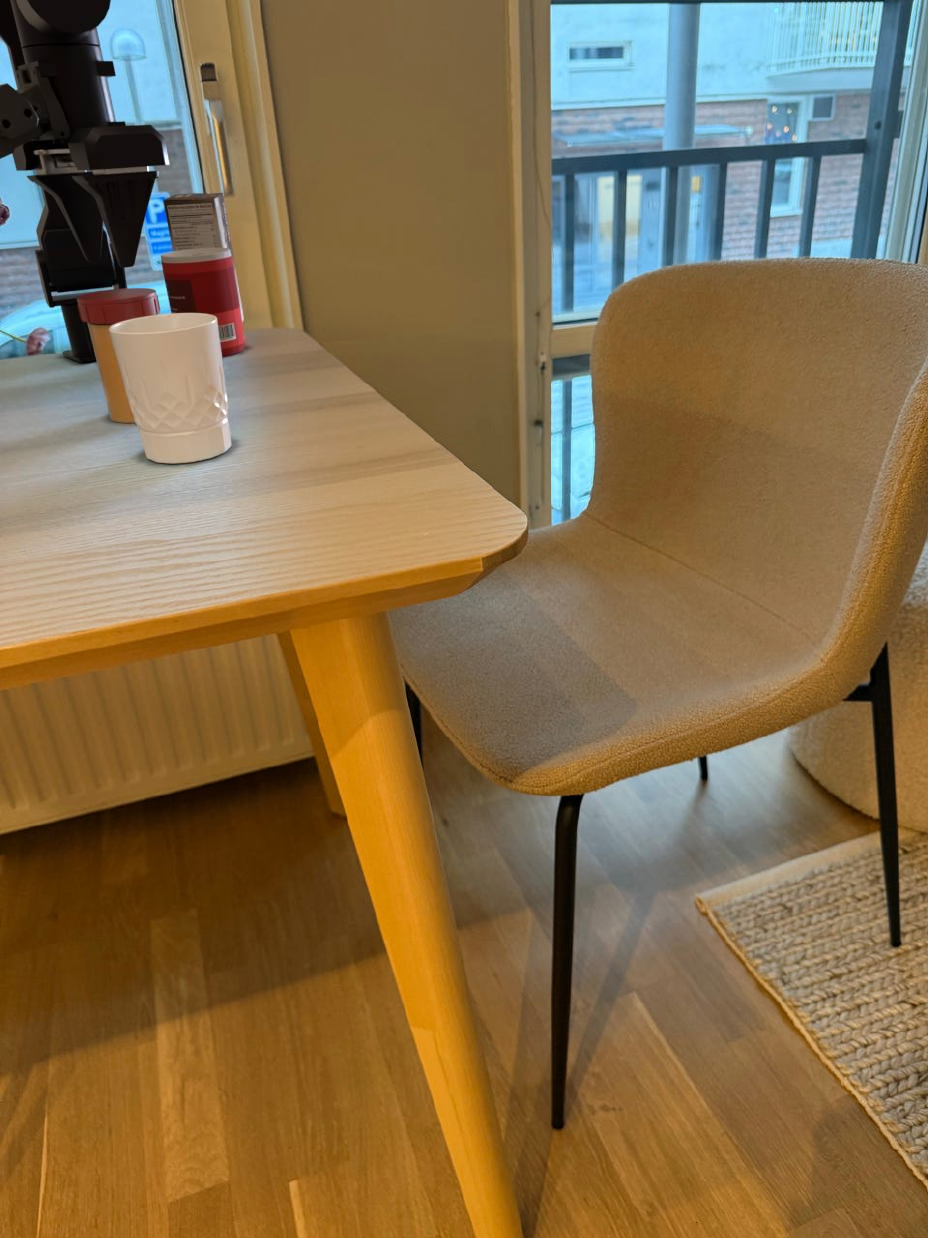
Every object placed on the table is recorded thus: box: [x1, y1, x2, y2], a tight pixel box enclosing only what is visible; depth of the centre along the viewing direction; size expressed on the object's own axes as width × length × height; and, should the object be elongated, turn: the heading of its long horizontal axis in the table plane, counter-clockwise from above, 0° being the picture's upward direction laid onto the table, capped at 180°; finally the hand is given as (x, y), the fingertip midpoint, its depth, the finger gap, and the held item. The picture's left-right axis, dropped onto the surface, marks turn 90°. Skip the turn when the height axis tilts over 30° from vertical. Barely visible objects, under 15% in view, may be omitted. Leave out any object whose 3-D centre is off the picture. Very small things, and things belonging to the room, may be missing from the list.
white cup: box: [109, 313, 232, 464], centre depth 70 cm, size 8×8×10 cm
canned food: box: [160, 248, 246, 358], centre depth 103 cm, size 8×8×11 cm
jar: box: [88, 323, 136, 424], centre depth 80 cm, size 6×6×10 cm
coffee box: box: [162, 192, 245, 323], centre depth 115 cm, size 9×6×16 cm
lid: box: [77, 287, 161, 324], centre depth 78 cm, size 6×6×2 cm
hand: (109, 263), depth 77 cm, fingers open, 7 cm apart
